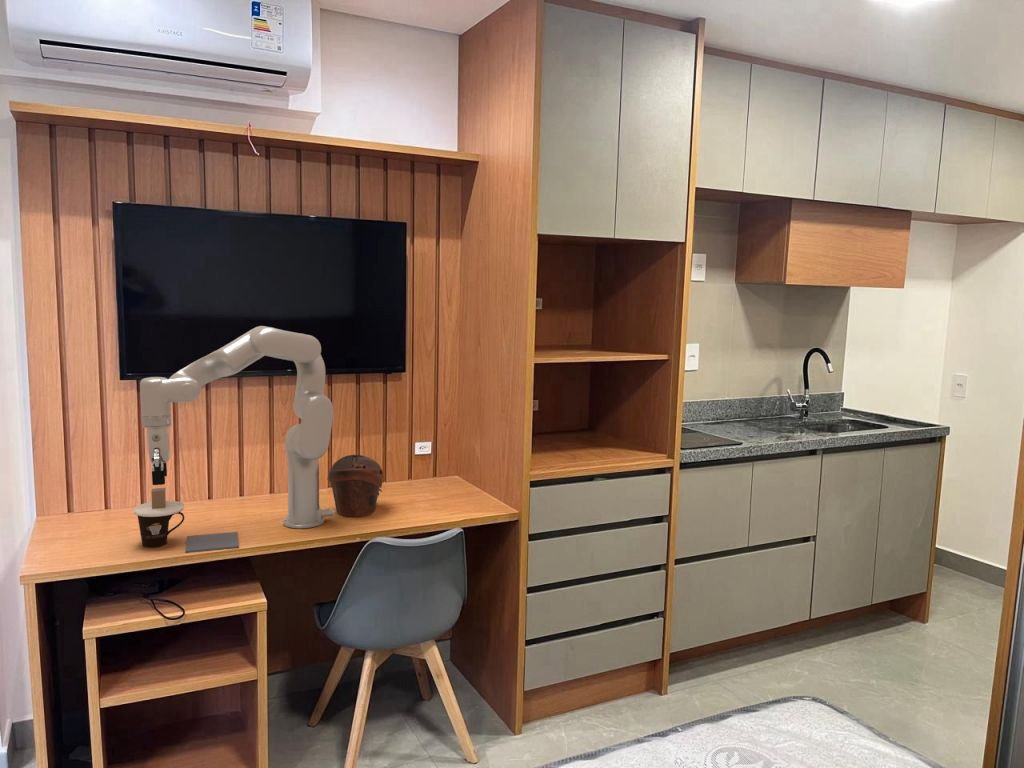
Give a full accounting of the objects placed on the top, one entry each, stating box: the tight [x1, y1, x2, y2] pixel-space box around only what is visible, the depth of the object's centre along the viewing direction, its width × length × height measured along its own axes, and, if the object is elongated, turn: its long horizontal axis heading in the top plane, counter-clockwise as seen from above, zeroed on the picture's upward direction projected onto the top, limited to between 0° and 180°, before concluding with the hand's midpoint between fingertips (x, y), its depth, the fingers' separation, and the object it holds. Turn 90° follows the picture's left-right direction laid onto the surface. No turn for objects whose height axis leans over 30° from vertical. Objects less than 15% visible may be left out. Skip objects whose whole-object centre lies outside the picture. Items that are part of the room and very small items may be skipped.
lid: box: [133, 487, 185, 517], centre depth 220 cm, size 13×13×6 cm
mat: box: [185, 531, 240, 554], centre depth 224 cm, size 14×14×1 cm
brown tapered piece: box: [327, 454, 384, 518], centre depth 257 cm, size 18×20×18 cm
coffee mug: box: [137, 511, 185, 549], centre depth 221 cm, size 12×9×10 cm
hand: (159, 480), depth 220 cm, fingers open, 9 cm apart
